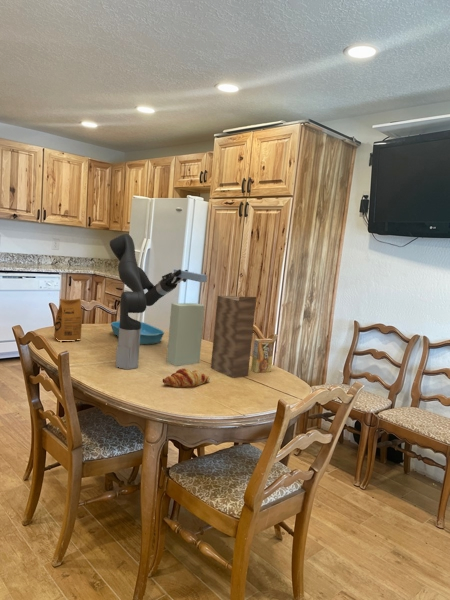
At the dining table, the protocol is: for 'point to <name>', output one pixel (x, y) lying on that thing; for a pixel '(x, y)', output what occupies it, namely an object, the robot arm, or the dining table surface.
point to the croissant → (186, 378)
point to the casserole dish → (143, 333)
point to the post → (233, 335)
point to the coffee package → (68, 320)
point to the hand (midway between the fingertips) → (183, 271)
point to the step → (185, 333)
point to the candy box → (262, 355)
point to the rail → (192, 276)
